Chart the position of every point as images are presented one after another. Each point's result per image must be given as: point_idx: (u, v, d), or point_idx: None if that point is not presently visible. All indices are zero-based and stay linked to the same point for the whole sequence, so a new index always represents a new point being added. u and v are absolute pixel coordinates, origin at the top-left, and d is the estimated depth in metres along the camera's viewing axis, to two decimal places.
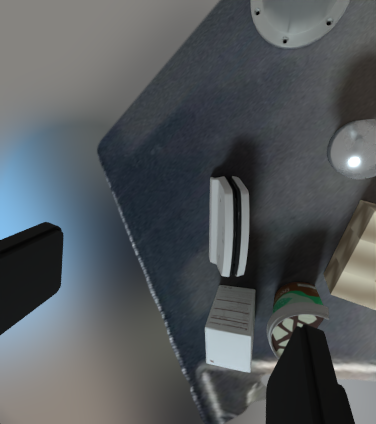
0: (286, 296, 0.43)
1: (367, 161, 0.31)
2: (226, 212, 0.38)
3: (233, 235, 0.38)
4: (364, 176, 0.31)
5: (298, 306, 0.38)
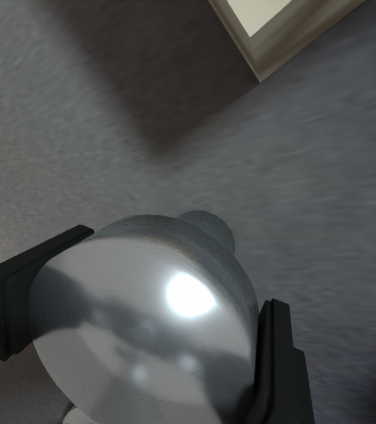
0: None
1: (135, 321, 0.07)
2: None
3: None
4: (176, 283, 0.06)
5: None
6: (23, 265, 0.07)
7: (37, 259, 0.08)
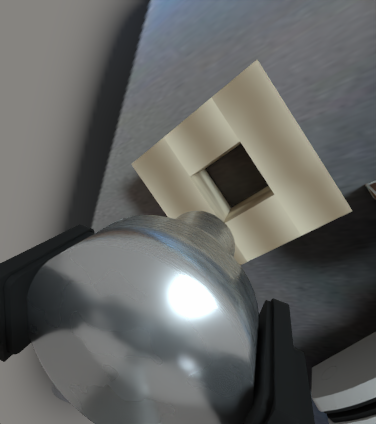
0: None
1: (134, 322, 0.07)
2: None
3: None
4: (175, 284, 0.06)
5: None
6: (23, 265, 0.07)
7: (37, 259, 0.08)
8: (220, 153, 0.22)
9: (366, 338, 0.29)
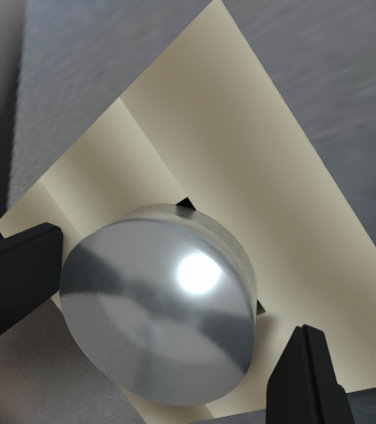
0: None
1: (155, 289, 0.08)
2: None
3: None
4: (190, 255, 0.07)
5: None
6: None
7: None
8: None
9: None
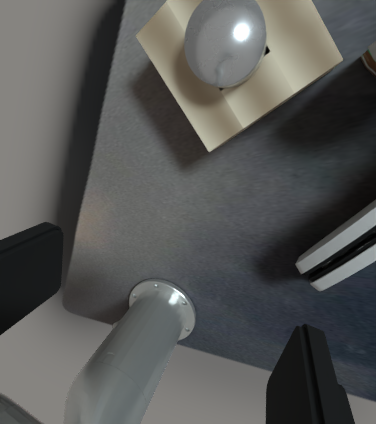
0: None
1: (228, 19, 0.21)
2: (340, 278, 0.25)
3: (363, 250, 0.24)
4: None
5: None
6: None
7: None
8: None
9: (349, 219, 0.31)
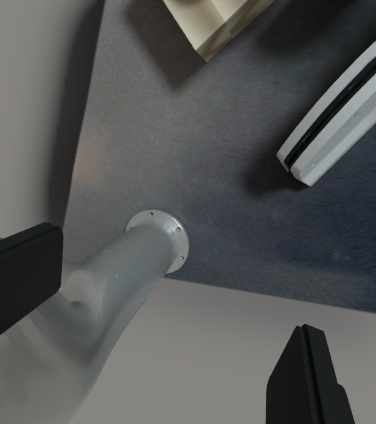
0: None
1: None
2: (315, 151, 0.28)
3: (333, 116, 0.26)
4: None
5: None
6: None
7: None
8: None
9: None
